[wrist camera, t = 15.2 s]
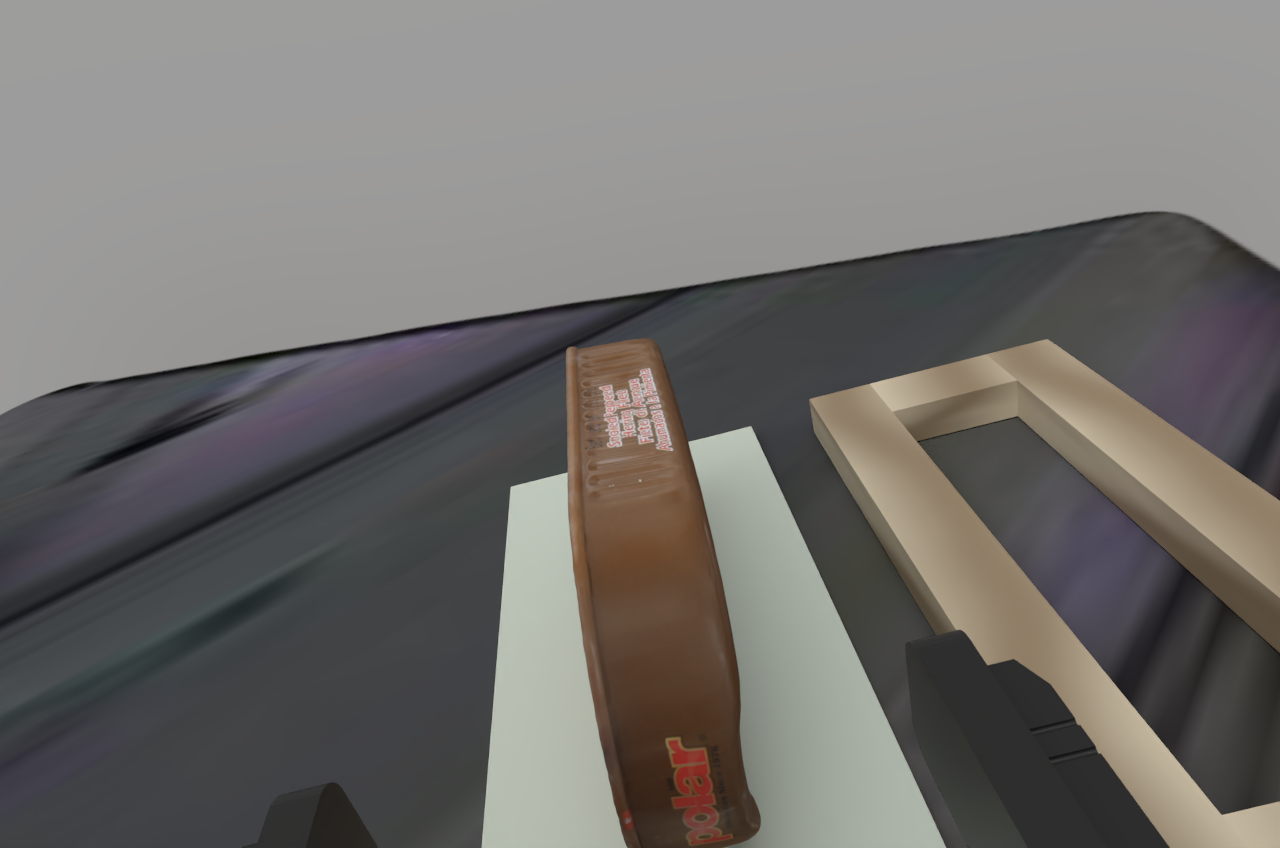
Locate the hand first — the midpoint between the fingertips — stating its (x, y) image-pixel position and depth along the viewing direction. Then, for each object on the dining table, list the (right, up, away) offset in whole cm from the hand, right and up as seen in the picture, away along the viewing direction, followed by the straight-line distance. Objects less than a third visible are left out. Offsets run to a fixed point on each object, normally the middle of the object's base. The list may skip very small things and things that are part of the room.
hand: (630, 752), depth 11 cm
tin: (+1, -2, +11) cm, 12 cm away
